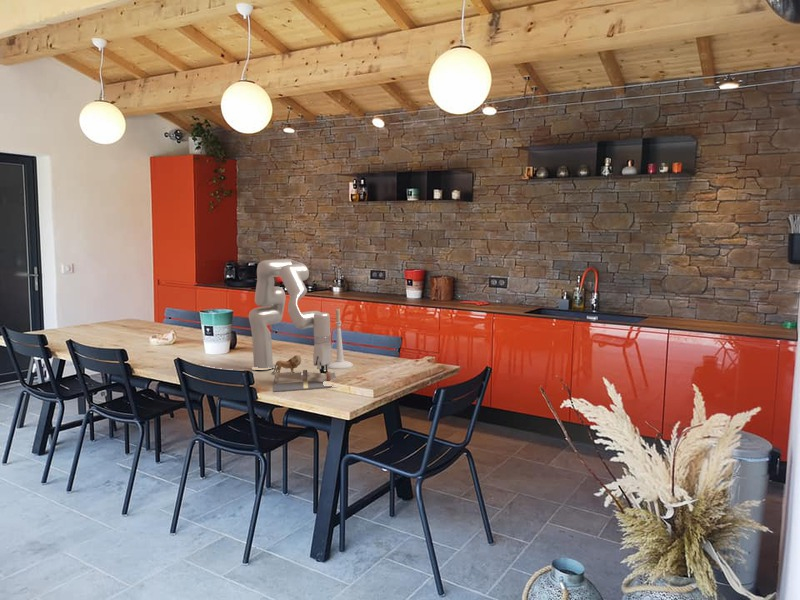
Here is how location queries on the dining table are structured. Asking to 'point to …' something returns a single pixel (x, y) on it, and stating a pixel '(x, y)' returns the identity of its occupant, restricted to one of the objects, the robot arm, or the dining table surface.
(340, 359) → the candlestick
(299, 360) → the lion figurine
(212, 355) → the dining table surface
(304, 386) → the board
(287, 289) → the robot arm
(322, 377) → the fence gate
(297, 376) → the fence fixed
